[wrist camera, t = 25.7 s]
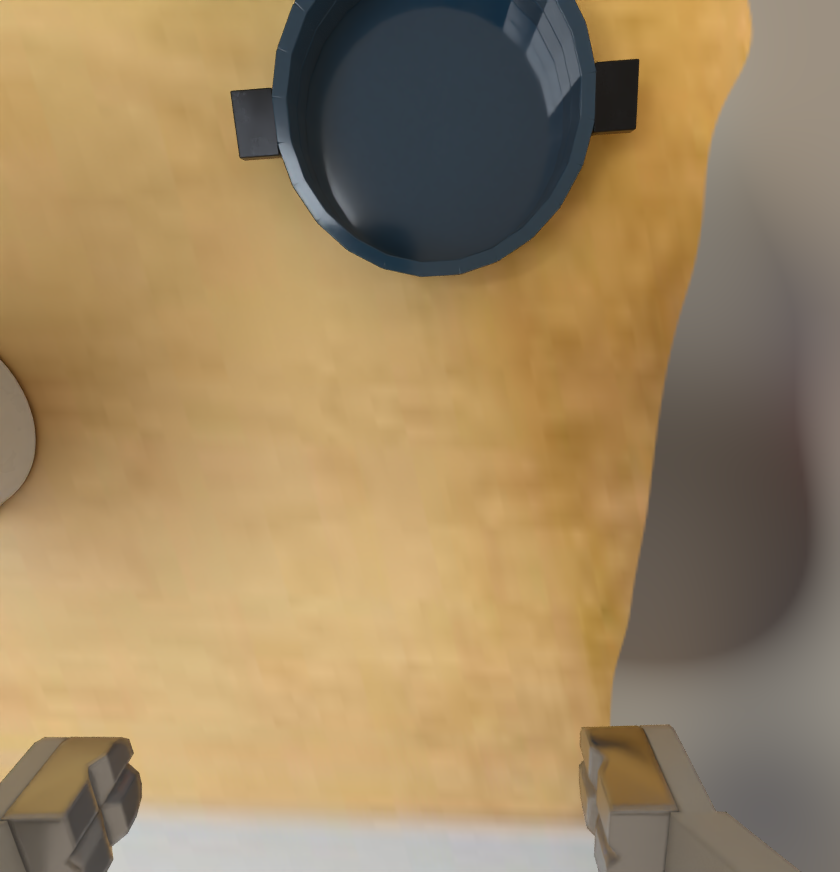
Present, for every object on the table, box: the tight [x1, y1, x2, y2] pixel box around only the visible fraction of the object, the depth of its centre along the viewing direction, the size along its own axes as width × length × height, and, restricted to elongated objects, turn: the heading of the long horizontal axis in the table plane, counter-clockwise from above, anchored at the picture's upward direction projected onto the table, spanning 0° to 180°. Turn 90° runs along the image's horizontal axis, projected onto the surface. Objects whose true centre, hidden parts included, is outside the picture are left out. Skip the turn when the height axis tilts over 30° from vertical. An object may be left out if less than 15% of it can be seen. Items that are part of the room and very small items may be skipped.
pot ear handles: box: [230, 59, 639, 161], centre depth 29 cm, size 21×3×1 cm, turn 93°
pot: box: [272, 0, 596, 277], centre depth 31 cm, size 17×17×4 cm
